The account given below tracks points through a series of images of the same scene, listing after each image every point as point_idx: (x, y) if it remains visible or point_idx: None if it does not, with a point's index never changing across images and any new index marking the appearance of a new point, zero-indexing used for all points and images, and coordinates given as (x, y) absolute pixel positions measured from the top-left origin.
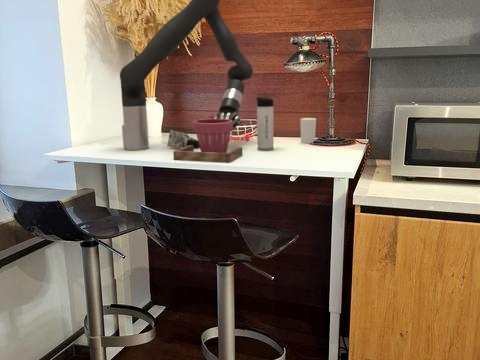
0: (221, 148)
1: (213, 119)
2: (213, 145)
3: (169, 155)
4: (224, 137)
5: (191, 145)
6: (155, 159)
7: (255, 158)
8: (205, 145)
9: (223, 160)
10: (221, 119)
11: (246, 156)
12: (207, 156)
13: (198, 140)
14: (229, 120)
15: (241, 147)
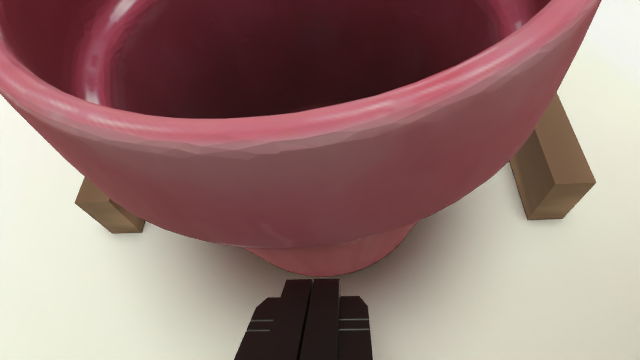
0: (231, 104)
1: (413, 85)
2: (273, 48)
3: (631, 107)
4: (173, 42)
5: (565, 171)
6: (598, 10)
7: (25, 169)
8: (336, 41)
9: None
10: (205, 124)
11: (82, 210)
12: None
13: (417, 33)
14: (11, 49)
15: (81, 192)
